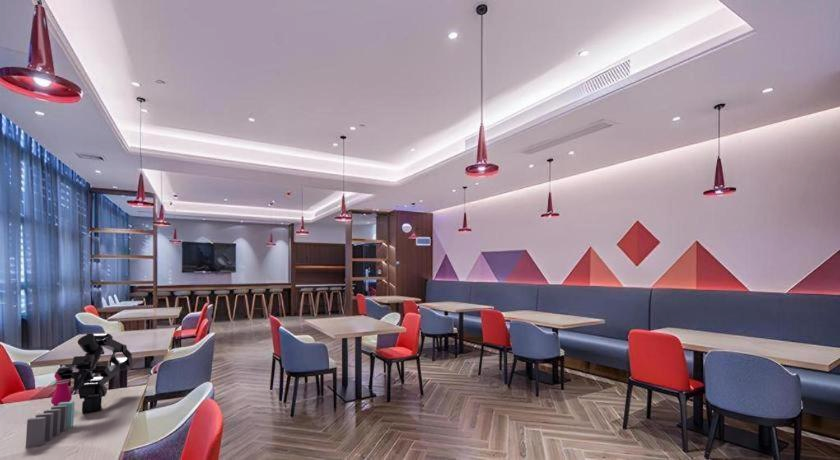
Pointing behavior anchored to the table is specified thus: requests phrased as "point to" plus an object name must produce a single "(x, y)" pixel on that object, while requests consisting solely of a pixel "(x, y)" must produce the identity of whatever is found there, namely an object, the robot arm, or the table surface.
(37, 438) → the domino
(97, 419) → the table surface
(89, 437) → the table surface
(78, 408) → the table surface
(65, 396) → the pepper mill
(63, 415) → the domino
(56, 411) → the domino
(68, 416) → the domino
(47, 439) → the domino
